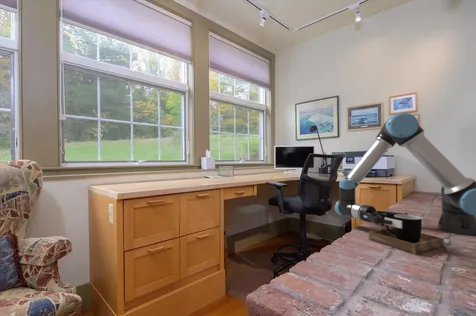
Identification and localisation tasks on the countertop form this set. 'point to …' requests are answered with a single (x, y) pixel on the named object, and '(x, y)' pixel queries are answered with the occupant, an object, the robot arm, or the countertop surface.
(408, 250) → the walnut tray
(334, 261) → the countertop surface
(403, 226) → the mug
